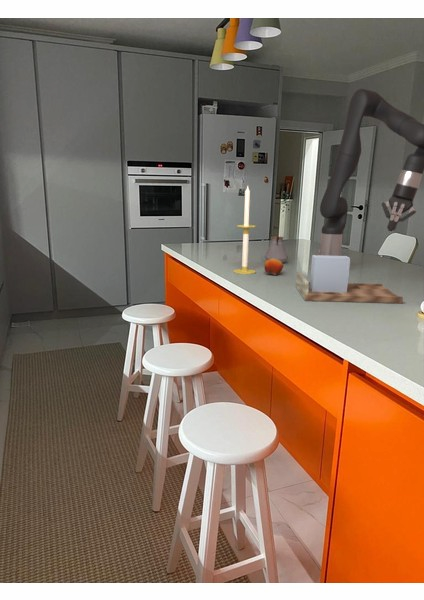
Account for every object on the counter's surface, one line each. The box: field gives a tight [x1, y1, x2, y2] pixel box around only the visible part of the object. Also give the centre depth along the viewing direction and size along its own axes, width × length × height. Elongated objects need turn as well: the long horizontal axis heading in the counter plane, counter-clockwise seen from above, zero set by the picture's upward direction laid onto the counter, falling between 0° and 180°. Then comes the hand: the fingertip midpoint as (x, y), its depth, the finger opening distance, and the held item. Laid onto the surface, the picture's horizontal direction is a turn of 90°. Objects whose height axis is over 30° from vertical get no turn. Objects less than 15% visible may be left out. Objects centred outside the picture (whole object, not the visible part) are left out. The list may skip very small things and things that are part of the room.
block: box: [309, 254, 351, 292], centre depth 148 cm, size 12×5×12 cm, turn 88°
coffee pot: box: [264, 235, 288, 265], centre depth 206 cm, size 21×12×15 cm, turn 172°
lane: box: [295, 271, 404, 305], centre depth 149 cm, size 32×20×6 cm, turn 88°
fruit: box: [264, 259, 284, 276], centre depth 183 cm, size 8×8×8 cm
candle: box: [232, 185, 257, 275], centre depth 183 cm, size 10×10×38 cm
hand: (390, 230), depth 160 cm, fingers closed
